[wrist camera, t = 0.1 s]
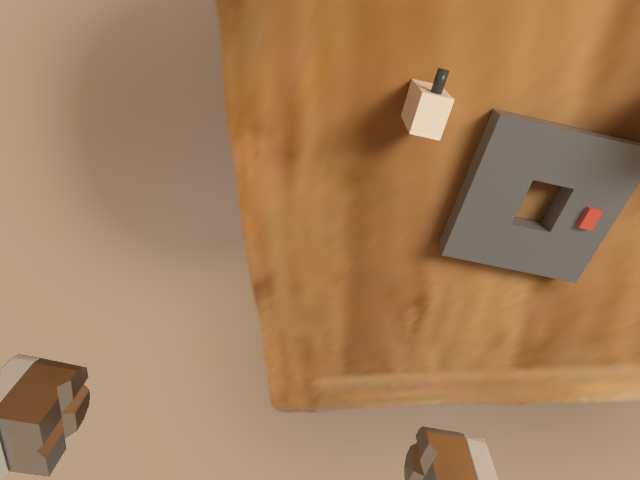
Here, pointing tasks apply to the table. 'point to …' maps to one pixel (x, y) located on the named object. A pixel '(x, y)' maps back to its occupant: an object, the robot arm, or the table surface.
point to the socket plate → (566, 208)
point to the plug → (427, 107)
